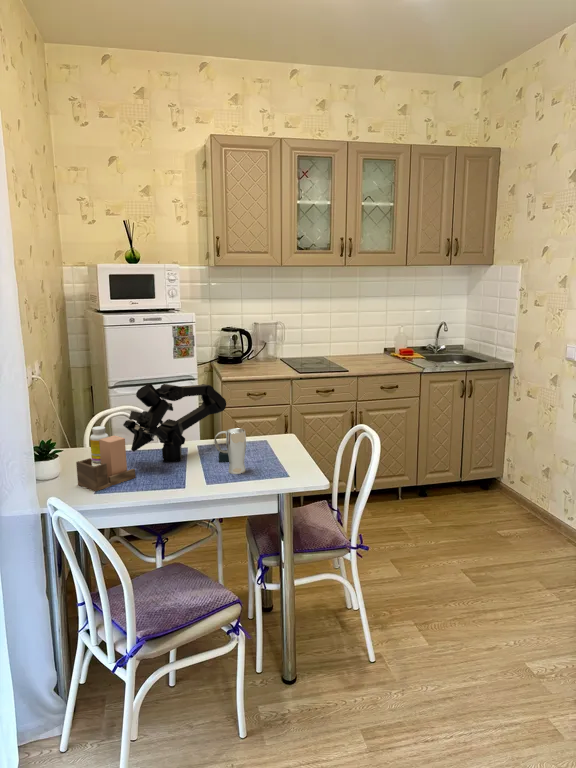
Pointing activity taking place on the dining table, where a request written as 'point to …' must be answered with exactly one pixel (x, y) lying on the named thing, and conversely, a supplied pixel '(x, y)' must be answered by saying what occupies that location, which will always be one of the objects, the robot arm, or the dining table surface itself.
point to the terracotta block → (113, 454)
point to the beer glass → (236, 450)
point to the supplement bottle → (97, 442)
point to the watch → (223, 453)
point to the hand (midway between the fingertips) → (132, 450)
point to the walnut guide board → (99, 475)
